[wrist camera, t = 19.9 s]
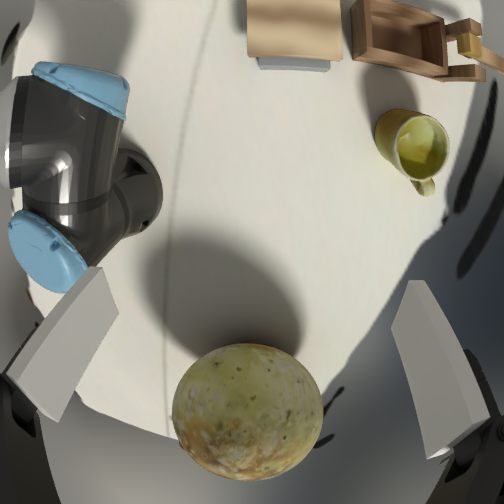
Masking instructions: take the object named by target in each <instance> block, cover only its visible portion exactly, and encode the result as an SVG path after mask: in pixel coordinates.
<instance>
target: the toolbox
mask: <svg viewBox="0 0 504 504" xmlns="http://www.w3.org/2000/svg"><path fill="white" fill-rule="evenodd" d="M350 14H351V29H352V54H353V60H355V61H361V62H367V63H372V64H377V65H382V66H387V67H391V68H395V69H399V70H403V71H407V72H411V73H414V74H418V75H421V76H425V77H428V78H431V79H434V80H437V81H440V82H451V81H466V82H486V70H485V69H483V68H482V67H480V66H478V65H476V64H470V65H456V66H448V56H447V42H450V41H454V40H457V37H456V35H459V34H463V33H468V32H469V33H471V34H473V35H475V36H480V35H482V29H481V24H480V23H478V22H476V21H475V20H473V19H471V18H468V19H464V20H461V21H457V22H454V23H451V24H448V25H445V24H444V19H443V18H441V17H438V16H436V15H434V14H431V13H428V12H426V11H423V10H420V9H418V8H415V7H412V6H409V5H406V4H402V3H399V2H396V1H392V0H357V1H356V2H355V3H354V4H353V6H352V7H351V8H350Z"/></svg>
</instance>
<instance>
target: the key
mask: <svg viewBox="0 0 504 504" xmlns="http://www.w3.org/2000/svg"><path fill="white" fill-rule="evenodd" d="M456 37H457V47H458V54H460V55H463V56H465V57H467V58H473V59H475V60H477V61H479V62H481V63H483V64H485V65H487V66H489V67H491V68H492V69H494V70H496V71H498V72H499V73H501V74H503V75H504V59H503V58H502V57H500V56H498V55H497V54H495V53H494V52H492V51H490V50H488V49H487V48H485V47H483V46H481V39H480V38H479V37H477V36H475V35H473V34H471V33H469V32H468V33H463V34H459V35H456Z"/></svg>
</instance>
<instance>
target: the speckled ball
mask: <svg viewBox="0 0 504 504" xmlns="http://www.w3.org/2000/svg"><path fill="white" fill-rule="evenodd" d="M172 417H173V424H174V429H175V432H176V435H177V437H178V439H179V441H180V443H181V445H182V447H183V448H184V450H185V451H186V452H187V453H188V455H189V456H190V457H191V458H192V459H193V460H194V461H195V462H196V463H198V464H199V465H200V466H202V467H203V468H204V469H206V470H208V471H210V472H211V473H213V474H216V475H218V476H221V477H224V478H227V479H232V480H237V481H259V480H265V479H269V478H272V477H275V476H278V475H280V474H282V473H285V472H286V471H288V470H290V469H291V468H293V467H294V466H296V465H297V464H298V463H299V462H301V460H303V459H304V458H305V457H306V456H307V454H308V453H309V452H310V450H311V449H312V448H313V446H314V444H315V443H316V441H317V438H318V436H319V433H320V430H321V426H322V421H323V404H322V399H321V395H320V391H319V389H318V386H317V384H316V382H315V380H314V379H313V377H312V376H311V374H310V373H309V372H308V370H307V369H306V368H305V367H304V366H303V365H302V364H301V363H300V362H299V361H297V360H296V359H295V358H294V357H292V356H290V355H289V354H287V353H285V352H283V351H281V350H279V349H277V348H274V347H271V346H267V345H262V344H255V343H239V344H232V345H228V346H224V347H221V348H218V349H216V350H213V351H211V352H209V353H208V354H206V355H204V356H203V357H201V358H200V359H198V360H197V361H196V362H195V363H194V364H193V365H192V366H191V367H190V368H189V369H188V370H187V371H186V373H185V374H184V375H183V377H182V379H181V380H180V382H179V384H178V386H177V389H176V392H175V395H174V399H173V405H172Z"/></svg>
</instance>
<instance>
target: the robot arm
mask: <svg viewBox="0 0 504 504" xmlns="http://www.w3.org/2000/svg"><path fill="white" fill-rule="evenodd" d="M31 73H33V75H30V76H17V77H15V78H14V79H13V80H12V81H11V82H10V83H9V84H8V85H7V86H6V87H5V88H4V89H3V90H2V91H0V183H1V184H2V185H3V186H4V187H5V188H6V189H13V188H18V187H22V201H23V208H22V210H19V211H17V212H16V213H15V214H14V216H13V217H12V218H11V221H10V222H9V225H8V237H9V241H10V245H11V248H12V250H13V253H14V255H15V256H16V258H17V260H18V262H19V263H20V265H21V266H22V268H23V269H24V270H25V271H26V273H27V274H28V275H29V276H30V277H31V278H32V279H33V280H34V281H35V282H37V283H38V284H39V285H41V286H42V287H44V288H45V289H47V290H50V291H52V292H55V293H66V294H65V295H64V296H63V297H62V299H61V300H60V301H59V302H58V303H57V305H56V306H55V307H54V308H53V310H52V311H51V312H50V313H49V315H48V316H47V317H46V318H45V320H44V321H43V322H42V323H41V324H40V325H38V326H37V327H36V328H34V329H33V330H32V332H31V333H30V334H29V335H28V337H27V338H26V341H24V342H23V344H22V345H21V348H19V349H18V351H17V352H16V353H15V355H14V357H13V358H12V359H11V361H10V362H9V364H8V365H7V367H6V368H5V370H4V371H3V372H2V374H0V504H61V502H60V499H59V497H58V494H57V491H56V487H55V485H54V481H53V478H52V474H51V471H50V467H49V463H48V459H47V455H46V451H45V446H44V442H43V437H42V431H41V425H40V418H39V415H38V413H37V412H36V410H37V408H38V409H40V411H41V412H42V413H43V414H44V415H45V416H47V417H49V418H51V419H53V420H55V421H56V422H59V420H60V418H61V416H62V414H63V412H64V409H65V408H66V406H67V404H68V402H69V400H70V398H71V396H72V394H73V392H74V390H75V388H76V386H77V385H78V383H79V381H80V379H81V377H82V375H83V373H84V372H85V370H86V368H87V366H88V364H89V363H90V361H91V359H92V357H93V356H94V354H95V352H96V351H97V349H98V347H99V345H100V344H101V342H102V340H103V339H104V337H105V335H106V334H107V332H108V330H109V329H110V327H111V325H112V324H113V322H114V321H115V319H116V317H117V316H118V314H119V312H118V309H117V307H116V304H115V301H114V299H113V296H112V293H111V291H110V288H109V285H108V282H107V279H106V277H105V274H104V271H103V267H96V266H97V265H98V263H99V262H100V261H101V260H102V259H103V258H104V257H105V256H106V255H107V254H108V253H109V252H110V250H111V249H112V248H113V247H114V246H115V245H116V244H117V243H118V242H119V241H120V240H121V239H123V238H127V237H130V236H133V235H136V234H138V233H140V232H142V231H144V230H145V229H146V228H147V227H149V225H150V224H151V223H152V222H153V221H154V220H155V219H156V217H157V216H158V214H159V212H160V209H161V206H162V201H163V190H162V184H161V181H160V178H159V175H158V173H157V171H156V170H155V168H154V167H153V165H152V164H151V163H150V162H149V161H148V160H147V159H146V158H145V157H144V156H143V155H141V154H139V153H137V152H135V151H133V150H129V149H118V147H119V142H120V137H121V133H122V128H123V124H124V121H126V115H125V113H126V107H127V102H128V97H129V93H130V87H129V84H128V82H127V80H126V79H125V78H124V77H122V76H120V75H117V74H113V73H109V72H105V71H101V70H97V69H92V68H87V67H82V66H76V65H69V64H60V63H52V62H43V61H40V62H38V63H36V64H35V66H34V68H33V69H32V71H31ZM391 330H392V333H393V336H394V339H395V341H396V344H397V347H398V350H399V353H400V356H401V359H402V363H403V366H404V369H405V372H406V375H407V379H408V382H409V385H410V389H411V392H412V396H413V400H414V404H415V408H416V412H417V416H418V420H419V424H420V428H421V433H422V437H423V442H424V446H425V452H426V457H427V459H429V458H432V457H435V456H439V455H442V454H444V453H446V452H447V451H448V450H450V449H451V448H454V453H452V454H451V455H450V456H448V457H446V458H445V459H444V460H442V462H441V463H440V464H439V465H440V466H442V465H443V464H445V463H447V462H448V463H447V465H446V466H444V467H445V469H444V471H443V473H442V475H441V477H440V479H439V481H438V483H437V485H436V487H435V489H434V490H433V492H432V494H431V496H430V497H429V499H428V501H427V502H426V504H504V415H503V416H501V414H500V412H499V410H498V407H497V404H496V402H495V399H494V397H493V394H492V392H491V389H490V387H489V384H488V382H487V381H486V377H485V375H484V373H483V372H482V368H481V366H480V364H479V362H478V360H477V358H476V357H475V356H474V355H473V354H472V353H471V351H470V350H469V349H466V350H462V348H461V346H460V344H459V341H458V339H457V338H456V336H455V334H454V332H453V330H452V328H451V326H450V324H449V322H448V321H447V319H446V317H445V315H444V313H443V312H442V310H441V308H440V306H439V304H438V303H437V301H436V299H435V298H434V296H433V294H432V293H431V291H430V289H429V288H428V286H427V285H426V283H425V281H423V280H409V282H408V285H407V288H406V291H405V293H404V296H403V299H402V302H401V304H400V307H399V310H398V312H397V315H396V318H395V320H394V322H393V324H392V327H391Z"/></svg>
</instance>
